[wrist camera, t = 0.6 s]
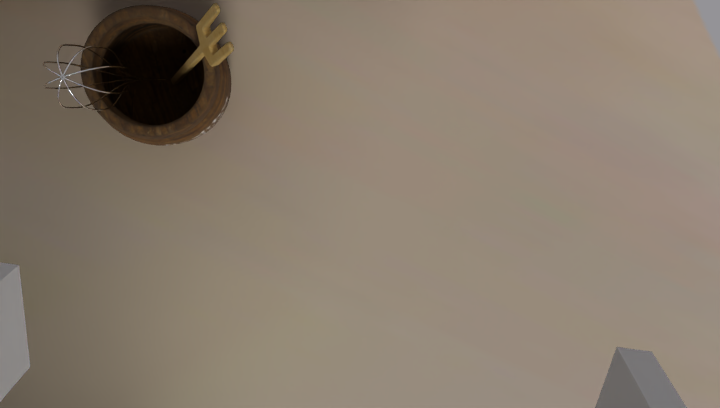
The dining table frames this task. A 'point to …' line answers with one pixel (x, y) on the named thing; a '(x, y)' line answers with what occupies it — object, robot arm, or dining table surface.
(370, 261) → the dining table surface
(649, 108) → the dining table surface
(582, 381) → the dining table surface
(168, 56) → the utensil holder
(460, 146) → the dining table surface
